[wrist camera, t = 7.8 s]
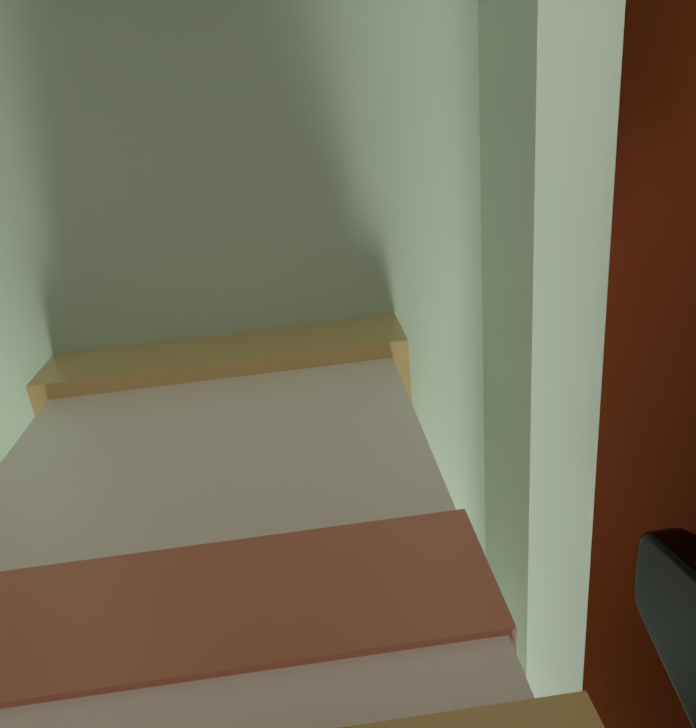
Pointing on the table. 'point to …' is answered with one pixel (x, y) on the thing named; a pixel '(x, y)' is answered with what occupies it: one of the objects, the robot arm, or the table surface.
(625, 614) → the table surface
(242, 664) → the block
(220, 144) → the tray
